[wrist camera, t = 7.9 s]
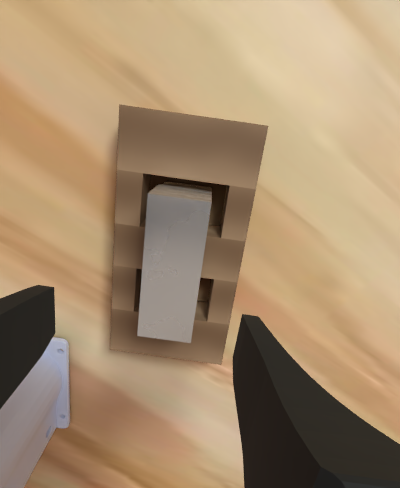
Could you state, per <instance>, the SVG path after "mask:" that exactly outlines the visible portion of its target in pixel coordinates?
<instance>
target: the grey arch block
mask: <svg viewBox="0 0 400 488" xmlns="http://www.w3.org/2000/svg"><path fill="white" fill-rule="evenodd" d="M211 203H212V191H211V187H204V186H197V185H190V184H183V183H176V182H169V181H166V182H165V183H164V184H163V185H162V184H158V185H157V186H156V187H155V188H154V189H152V190H151V191H150V192H149V193H148V198H147V211H146V225H145V238H144V251H143V265H142V278H141V292H140V305H139V319H138V332H137V336H142V337H149V338H156V339H164V340H171V341H178V342H186V343H191V338H192V331H193V324H194V318H195V311H196V304H197V297H198V291H199V284H200V277H201V270H202V264H203V257H204V250H205V243H206V237H207V230H208V223H209V216H210V210H211Z"/></svg>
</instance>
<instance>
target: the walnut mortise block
mask: <svg viewBox="0 0 400 488" xmlns="http://www.w3.org/2000/svg"><path fill="white" fill-rule="evenodd" d="M267 129H268V126H265V125H258V124H251V123H244V122H237V121H230V120H223V119H216V118H209V117H202V116H195V115H188V114H181V113H174V112H167V111H160V110H153V109H146V108H139V107H132V106H125V105H119V129H118V154H117V180H116V206H115V231H114V257H113V282H112V308H111V333H110V350H117V351H124V352H131V353H139V354H146V355H153V356H160V357H168V358H175V359H182V360H190V361H197V362H204V363H211V364H219V365H221V364H222V358H223V353H224V348H225V343H226V338H227V333H228V328H229V323H230V318H231V313H232V308H233V302H234V297H235V292H236V287H237V282H238V277H239V272H240V267H241V262H242V257H243V252H244V247H245V241H246V236H247V231H248V226H249V221H250V216H251V211H252V206H253V201H254V196H255V191H256V185H257V180H258V175H259V170H260V165H261V160H262V155H263V150H264V145H265V140H266V135H267ZM151 174H152V175H159V176H166V177H173V178H180V179H187V180H194V181H201V182H208V183H215V184H222V185H227V187H226V194H225V200H224V206H223V212H222V218H221V224H220V227H219V226H212V225H208V230H207V237H206V243H205V250H204V257H203V264H202V270H201V278H209V279H211V285H210V292H209V298H208V302H201V301H197V304H196V311H195V318H194V324H193V331H192V338H191V343H186V342H178V341H171V340H164V339H156V338H149V337H142V336H137V332H138V319H139V305H140V292H141V278H142V265H143V251H144V238H145V225H146V211H147V198H148V193H149V192H150V181H151Z"/></svg>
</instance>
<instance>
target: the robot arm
mask: <svg viewBox="0 0 400 488" xmlns="http://www.w3.org/2000/svg"><path fill="white" fill-rule="evenodd" d="M54 334H55V304H54V287H48V286H41V285H37V286H33V287H30V288H27V289H24V290H22V291H19V292H16V293H14V294H11V295H9V296H6V297H3V298H1V299H0V488H24V486H25V485H26V483H27V481H28V479H29V477H30V475H31V474H32V472H33V470H34V468H35V466H36V464H37V462H38V461H39V459H40V457H41V455H42V453H43V451H44V449H45V448H46V446H47V444H48V442H49V440H50V438H51V436H52V435H53V433H54V431H55V429H56V428H67V427H68V426H69V424H70V392H69V344H68V341H67V340H65V339H63V338H56V337H53V336H54ZM60 349H62V350H63V351H62V350H60ZM233 385H234V392H235V400H236V407H237V414H238V421H239V428H240V435H241V442H242V451H243V465H244V486H245V488H400V444H398V443H397V442H395V441H394V440H392V439H391V438H389V437H388V436H386V435H385V434H383V433H382V432H380V431H379V430H377V429H376V428H374V427H373V426H371V425H370V424H368V423H367V422H365V421H364V420H363V419H361V418H360V417H358V416H357V415H356V414H354V413H353V412H352V411H350V410H349V409H348V408H347V407H345V406H344V405H343V404H341V403H340V402H339V401H338V400H336V399H335V398H334V397H333V396H332V395H330V394H329V393H328V392H327V391H326V390H325V389H323V388H322V387H321V386H320V385H319V384H318V383H317V382H316V381H315V380H313V379H312V378H311V377H310V376H309V375H308V374H307V373H306V372H305V371H304V370H303V369H302V368H301V367H300V366H299V365H298V363H297V362H296V361H295V360H294V359H293V358H292V357H291V356H290V355H289V354H288V353H287V351H286V350H285V349H284V348H283V347H282V346H281V344H280V343H279V342H278V341H277V340H276V338H275V337H274V336H273V335H272V333H271V332H270V331H269V330H268V328H267V327H266V326H265V324H264V323H263V322H262V321H261V319H260V318H259V317H258V316H251V315H244V314H242V318H241V322H240V327H239V331H238V336H237V341H236V345H235V350H234V355H233Z"/></svg>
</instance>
